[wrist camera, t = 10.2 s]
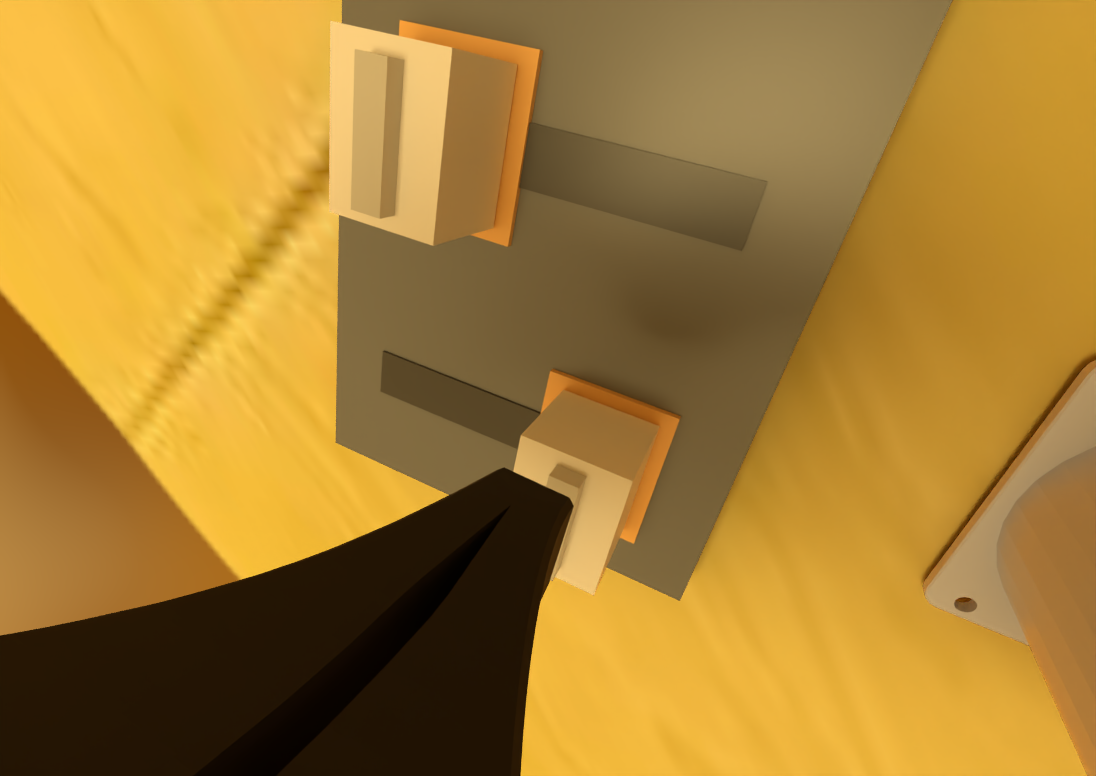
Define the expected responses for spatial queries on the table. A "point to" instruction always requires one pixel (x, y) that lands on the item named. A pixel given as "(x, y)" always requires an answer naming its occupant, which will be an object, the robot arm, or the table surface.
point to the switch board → (626, 238)
